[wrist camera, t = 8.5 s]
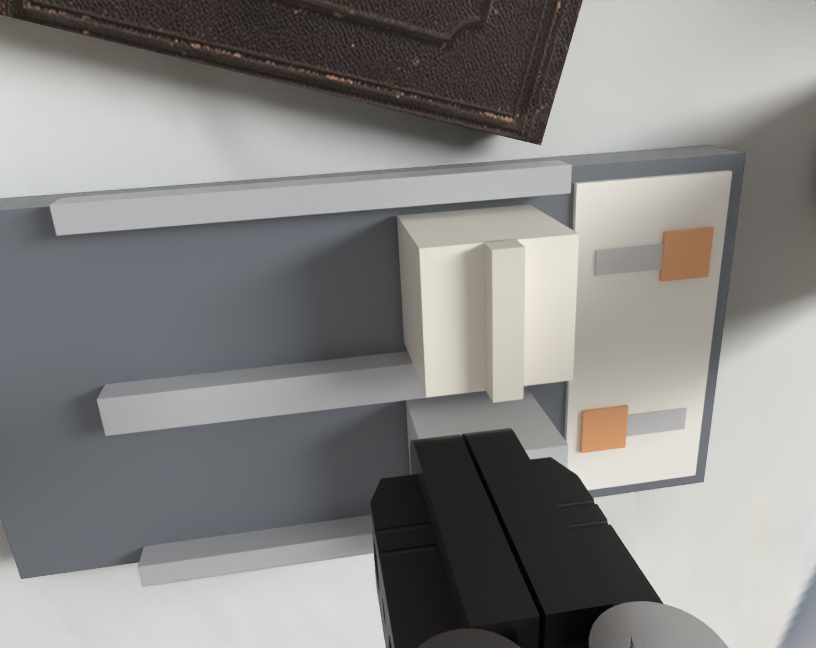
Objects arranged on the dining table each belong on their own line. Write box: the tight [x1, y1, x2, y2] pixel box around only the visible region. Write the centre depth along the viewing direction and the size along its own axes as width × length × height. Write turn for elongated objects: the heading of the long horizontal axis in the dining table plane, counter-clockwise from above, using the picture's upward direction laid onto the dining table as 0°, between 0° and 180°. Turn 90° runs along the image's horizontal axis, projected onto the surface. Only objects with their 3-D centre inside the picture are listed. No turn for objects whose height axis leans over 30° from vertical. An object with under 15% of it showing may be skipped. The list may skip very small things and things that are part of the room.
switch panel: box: [0, 145, 746, 587], centre depth 22 cm, size 12×24×3 cm, turn 93°
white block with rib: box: [406, 386, 568, 475], centre depth 21 cm, size 4×4×4 cm
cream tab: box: [397, 204, 579, 403], centre depth 19 cm, size 4×4×4 cm
